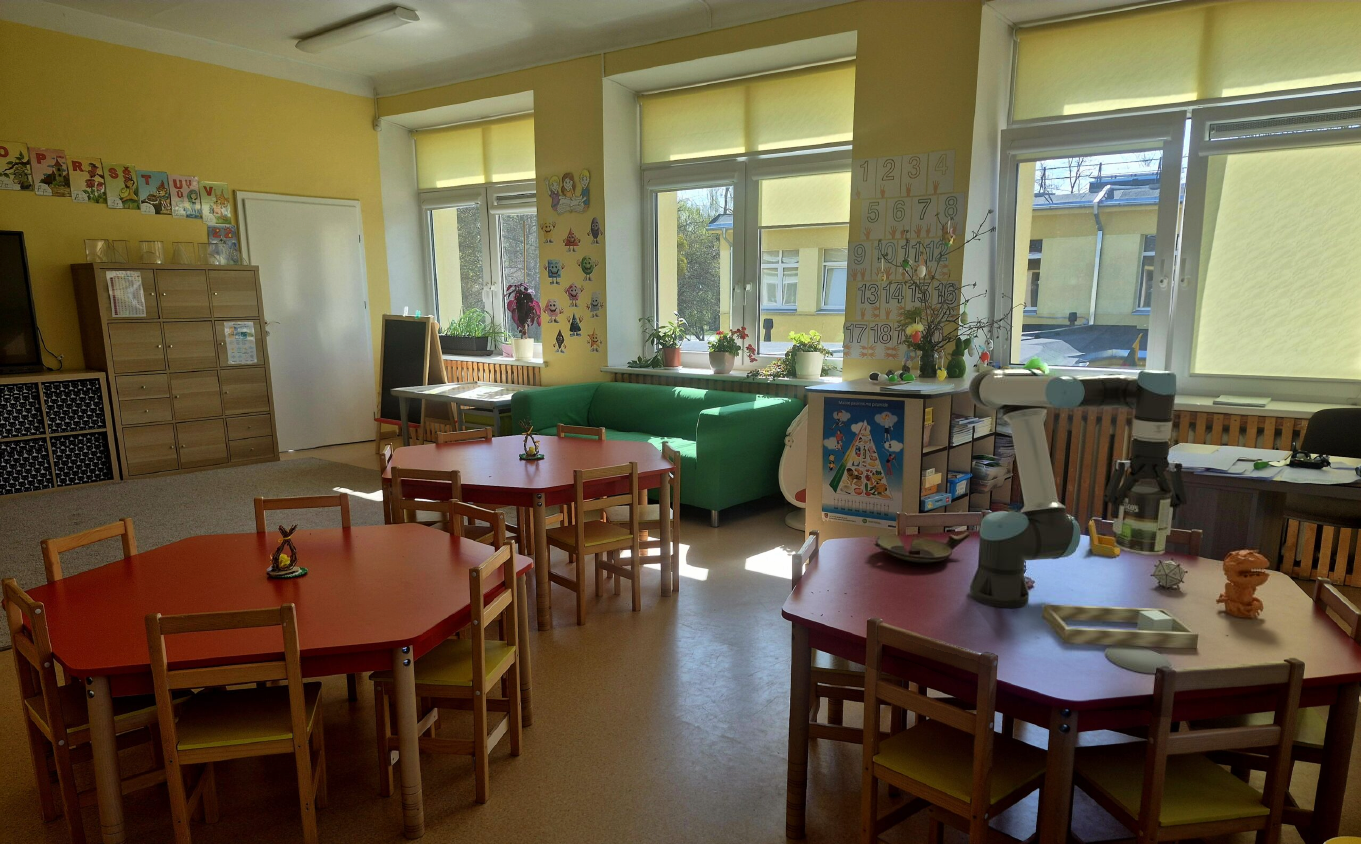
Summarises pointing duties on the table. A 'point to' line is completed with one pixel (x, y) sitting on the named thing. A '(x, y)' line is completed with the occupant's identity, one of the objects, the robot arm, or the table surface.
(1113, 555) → the yellow toy chair
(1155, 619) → the pale green cube
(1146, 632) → the frame
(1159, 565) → the game die
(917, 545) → the oil lamp
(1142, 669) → the trivet
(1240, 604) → the toy dinosaur
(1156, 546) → the coffee can
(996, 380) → the robot arm
